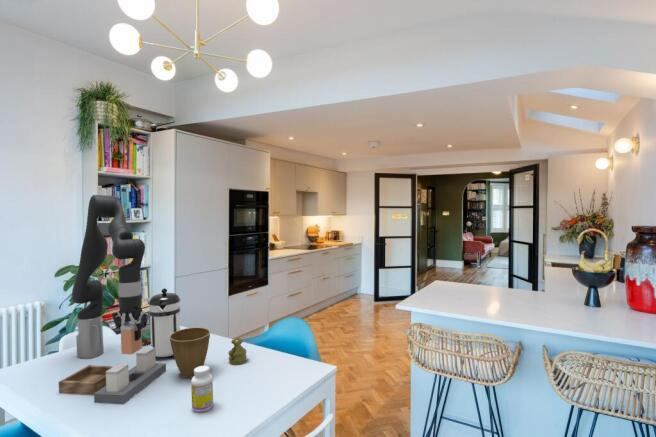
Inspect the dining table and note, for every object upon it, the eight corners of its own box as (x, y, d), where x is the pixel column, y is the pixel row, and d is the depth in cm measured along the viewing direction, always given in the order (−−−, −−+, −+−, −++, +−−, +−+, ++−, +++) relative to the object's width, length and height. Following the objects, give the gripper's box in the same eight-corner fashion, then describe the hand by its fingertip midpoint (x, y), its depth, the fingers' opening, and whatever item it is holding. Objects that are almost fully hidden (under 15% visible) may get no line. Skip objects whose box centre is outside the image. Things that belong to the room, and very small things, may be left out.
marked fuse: (131, 354, 133) (130, 327, 133) (121, 354, 134) (120, 326, 133) (142, 348, 139) (141, 321, 139) (132, 347, 140) (131, 321, 139)
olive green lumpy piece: (225, 363, 155) (224, 340, 154) (235, 356, 161) (235, 334, 161) (239, 366, 152) (239, 342, 151) (250, 359, 159) (249, 336, 158)
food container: (147, 348, 173) (146, 327, 173) (135, 347, 175) (134, 326, 174) (163, 338, 185) (163, 319, 185) (153, 338, 187) (152, 318, 186)
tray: (59, 393, 132) (58, 381, 132) (89, 375, 146) (88, 365, 146) (94, 394, 130) (94, 383, 130) (121, 376, 144) (121, 366, 144)
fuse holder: (123, 403, 124) (123, 395, 124) (94, 402, 125) (93, 393, 125) (166, 370, 149) (165, 363, 149) (141, 369, 150) (140, 362, 150)
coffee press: (193, 352, 167) (191, 286, 166) (161, 365, 154) (158, 293, 153) (169, 345, 176) (168, 282, 176) (137, 357, 163) (135, 289, 162)
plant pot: (164, 374, 145) (162, 334, 145) (199, 362, 156) (198, 325, 156) (181, 386, 135) (180, 343, 135) (218, 372, 146) (217, 332, 145)
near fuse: (117, 401, 126) (116, 372, 125) (106, 400, 126) (105, 371, 126) (129, 392, 132) (128, 364, 131) (119, 391, 132) (118, 364, 132)
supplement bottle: (195, 402, 124) (194, 364, 123) (215, 401, 124) (214, 363, 124) (189, 413, 117) (188, 373, 117) (210, 412, 118) (209, 372, 117)
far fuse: (146, 379, 142) (145, 353, 141) (136, 378, 142) (136, 353, 142) (155, 372, 147) (155, 347, 147) (146, 371, 148) (145, 347, 148)
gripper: (154, 291, 139) (155, 336, 139) (119, 290, 140) (120, 335, 141) (141, 296, 131) (143, 344, 132) (105, 295, 133) (106, 342, 134)
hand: (131, 339), depth 136 cm, fingers closed on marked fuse, 4 cm apart
